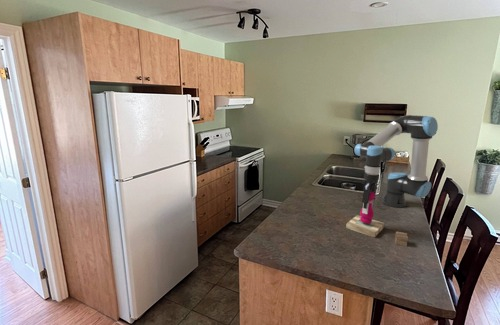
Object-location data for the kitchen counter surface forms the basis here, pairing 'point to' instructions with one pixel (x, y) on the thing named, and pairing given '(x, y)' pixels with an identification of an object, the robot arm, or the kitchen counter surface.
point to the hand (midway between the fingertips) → (367, 211)
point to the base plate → (365, 226)
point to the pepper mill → (368, 217)
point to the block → (401, 238)
